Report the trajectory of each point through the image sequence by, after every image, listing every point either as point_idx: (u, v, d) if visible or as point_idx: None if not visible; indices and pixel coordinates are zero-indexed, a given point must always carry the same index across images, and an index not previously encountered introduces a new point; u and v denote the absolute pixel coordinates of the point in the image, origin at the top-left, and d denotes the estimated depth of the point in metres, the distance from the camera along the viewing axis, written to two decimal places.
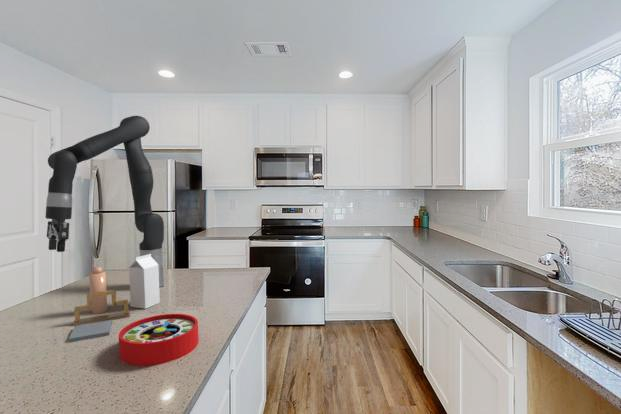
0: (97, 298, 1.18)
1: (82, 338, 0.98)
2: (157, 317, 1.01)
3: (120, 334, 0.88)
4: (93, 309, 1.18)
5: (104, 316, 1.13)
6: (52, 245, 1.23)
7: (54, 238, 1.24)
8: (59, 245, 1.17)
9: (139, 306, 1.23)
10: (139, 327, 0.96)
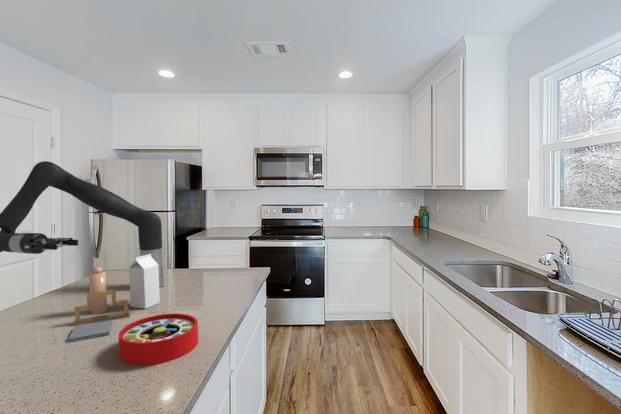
0: (97, 298, 1.18)
1: (82, 338, 0.98)
2: (157, 317, 1.01)
3: (120, 334, 0.89)
4: (93, 309, 1.18)
5: (104, 316, 1.13)
6: (72, 243, 1.25)
7: (67, 241, 1.25)
8: (49, 248, 1.16)
9: (139, 306, 1.23)
10: (139, 327, 0.96)
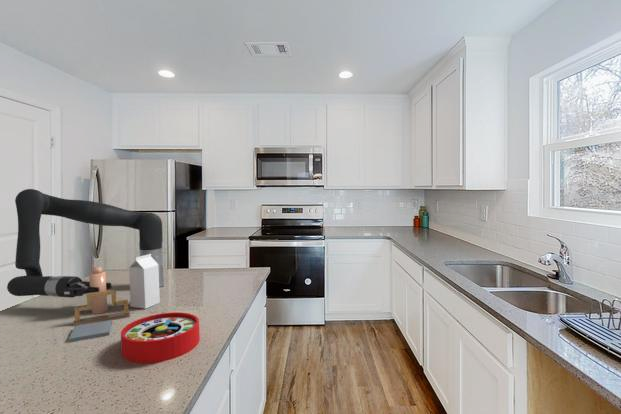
0: (97, 298, 1.18)
1: (82, 338, 0.98)
2: (159, 316, 1.02)
3: (122, 332, 0.90)
4: (94, 309, 1.19)
5: (104, 316, 1.13)
6: (106, 286, 1.23)
7: None
8: (91, 292, 1.17)
9: (139, 306, 1.23)
10: (141, 325, 0.97)
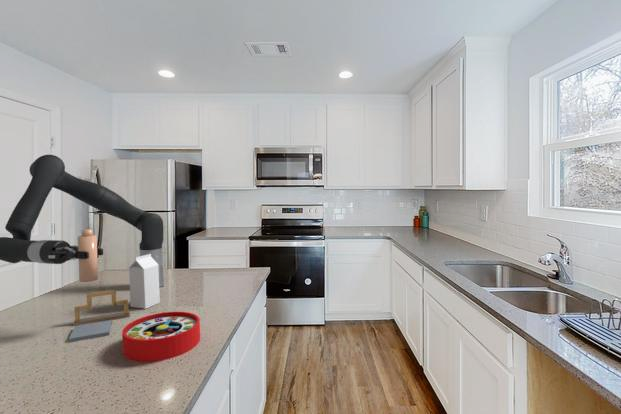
0: (86, 264, 1.04)
1: (82, 338, 0.98)
2: (159, 315, 1.03)
3: (123, 331, 0.90)
4: (82, 276, 1.04)
5: (104, 316, 1.13)
6: (97, 252, 1.08)
7: None
8: (79, 257, 1.02)
9: (139, 306, 1.23)
10: (142, 324, 0.98)
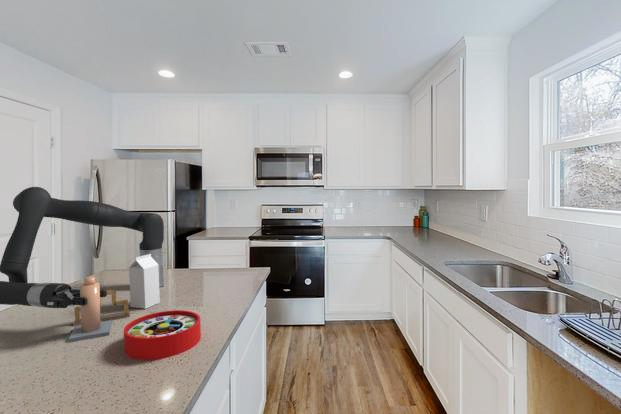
0: (88, 314, 1.00)
1: (82, 338, 0.98)
2: (160, 313, 1.04)
3: (125, 329, 0.91)
4: (84, 326, 1.00)
5: (104, 316, 1.13)
6: (100, 294, 1.06)
7: None
8: None
9: (139, 306, 1.23)
10: (143, 323, 0.99)
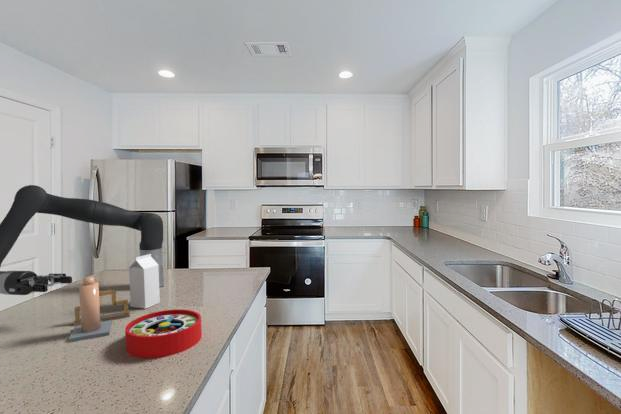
0: (88, 314, 1.00)
1: (82, 338, 0.98)
2: (161, 313, 1.05)
3: (126, 328, 0.92)
4: (84, 327, 1.01)
5: (104, 316, 1.13)
6: (65, 280, 1.08)
7: (59, 278, 1.09)
8: (37, 290, 1.00)
9: (139, 306, 1.23)
10: (144, 322, 0.99)
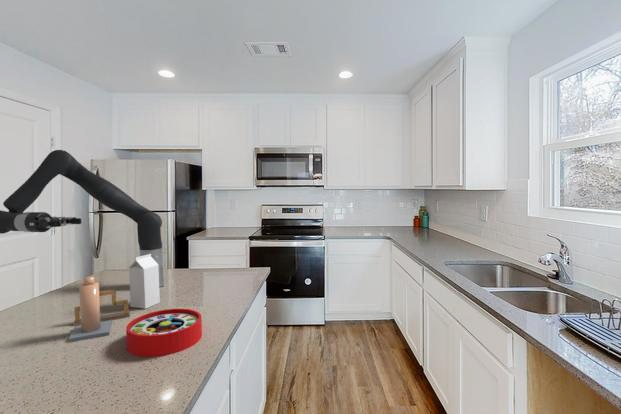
0: (88, 314, 1.00)
1: (82, 338, 0.98)
2: (162, 312, 1.05)
3: (127, 327, 0.93)
4: (84, 327, 1.01)
5: (104, 316, 1.13)
6: (76, 221, 1.27)
7: (70, 220, 1.28)
8: (53, 225, 1.19)
9: (139, 306, 1.23)
10: (145, 321, 1.00)
